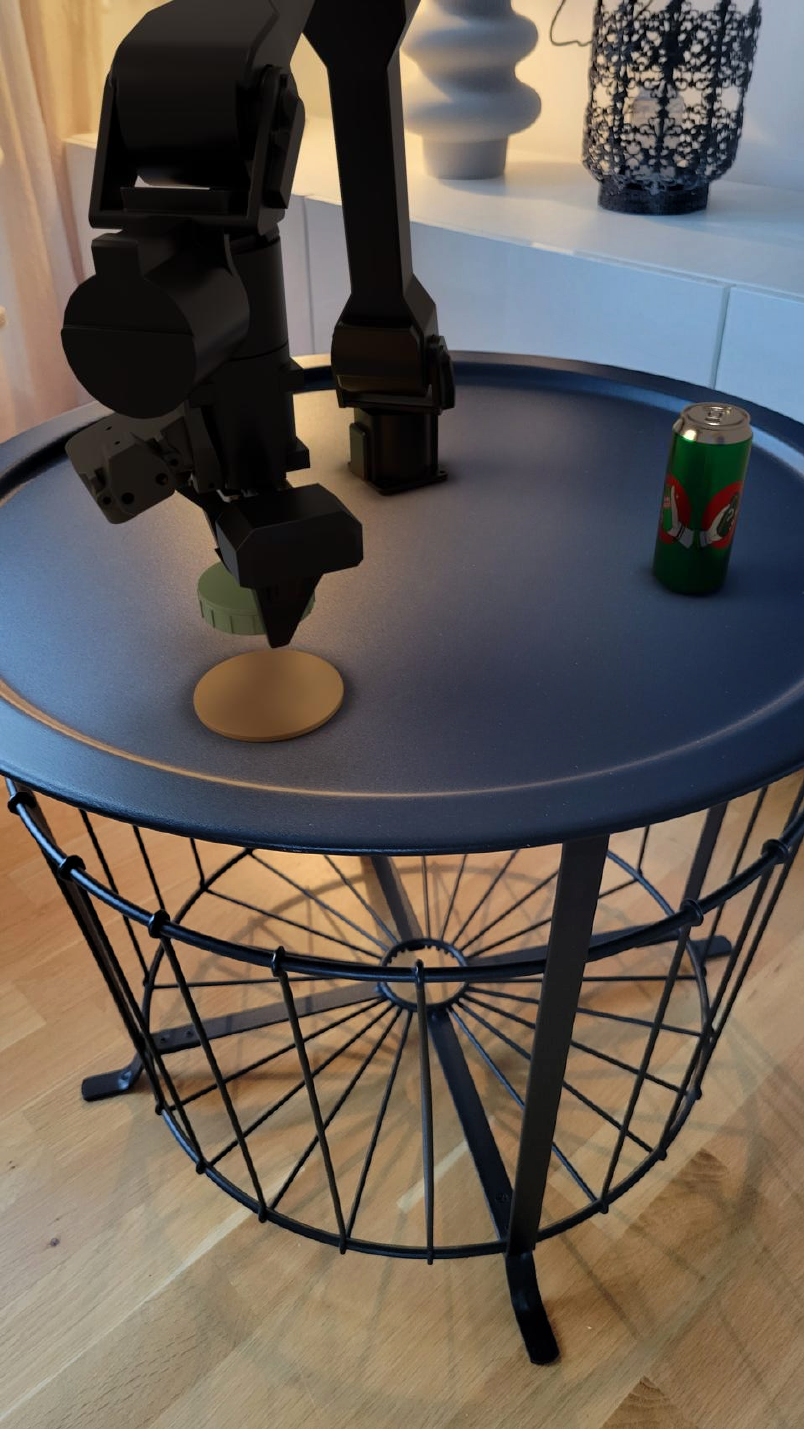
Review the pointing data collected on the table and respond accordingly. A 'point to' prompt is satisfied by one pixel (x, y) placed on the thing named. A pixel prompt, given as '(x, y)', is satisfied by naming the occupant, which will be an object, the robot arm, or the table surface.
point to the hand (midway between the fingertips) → (260, 616)
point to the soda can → (701, 496)
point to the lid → (231, 603)
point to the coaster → (268, 695)
